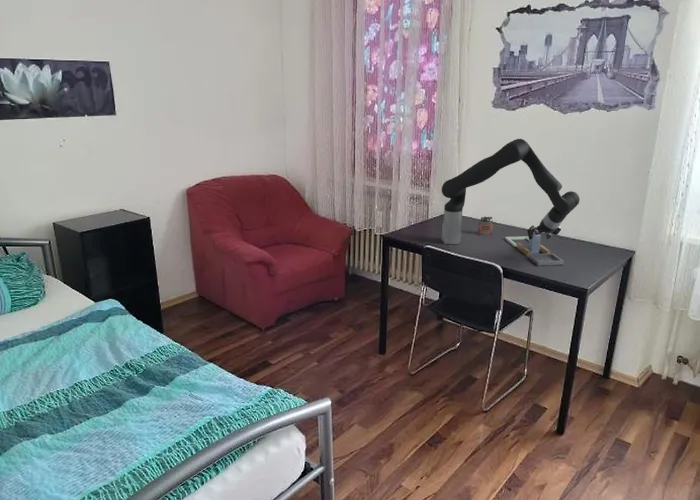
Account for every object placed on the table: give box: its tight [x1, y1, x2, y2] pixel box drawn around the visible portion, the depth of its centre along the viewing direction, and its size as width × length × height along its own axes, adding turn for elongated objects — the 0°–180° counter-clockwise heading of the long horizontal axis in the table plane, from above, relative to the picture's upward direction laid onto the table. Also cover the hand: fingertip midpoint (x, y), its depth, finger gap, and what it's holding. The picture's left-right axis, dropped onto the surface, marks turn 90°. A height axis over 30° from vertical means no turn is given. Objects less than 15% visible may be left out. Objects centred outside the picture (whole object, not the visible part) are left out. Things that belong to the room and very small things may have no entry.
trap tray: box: [528, 252, 565, 267], centre depth 242 cm, size 12×11×2 cm
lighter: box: [477, 215, 494, 236], centre depth 283 cm, size 8×3×10 cm, turn 92°
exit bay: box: [504, 235, 529, 248], centre depth 270 cm, size 12×13×1 cm
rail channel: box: [516, 242, 551, 257], centre depth 256 cm, size 11×14×2 cm
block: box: [527, 234, 542, 254], centre depth 254 cm, size 4×4×9 cm
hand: (538, 237), depth 249 cm, fingers open, 8 cm apart
